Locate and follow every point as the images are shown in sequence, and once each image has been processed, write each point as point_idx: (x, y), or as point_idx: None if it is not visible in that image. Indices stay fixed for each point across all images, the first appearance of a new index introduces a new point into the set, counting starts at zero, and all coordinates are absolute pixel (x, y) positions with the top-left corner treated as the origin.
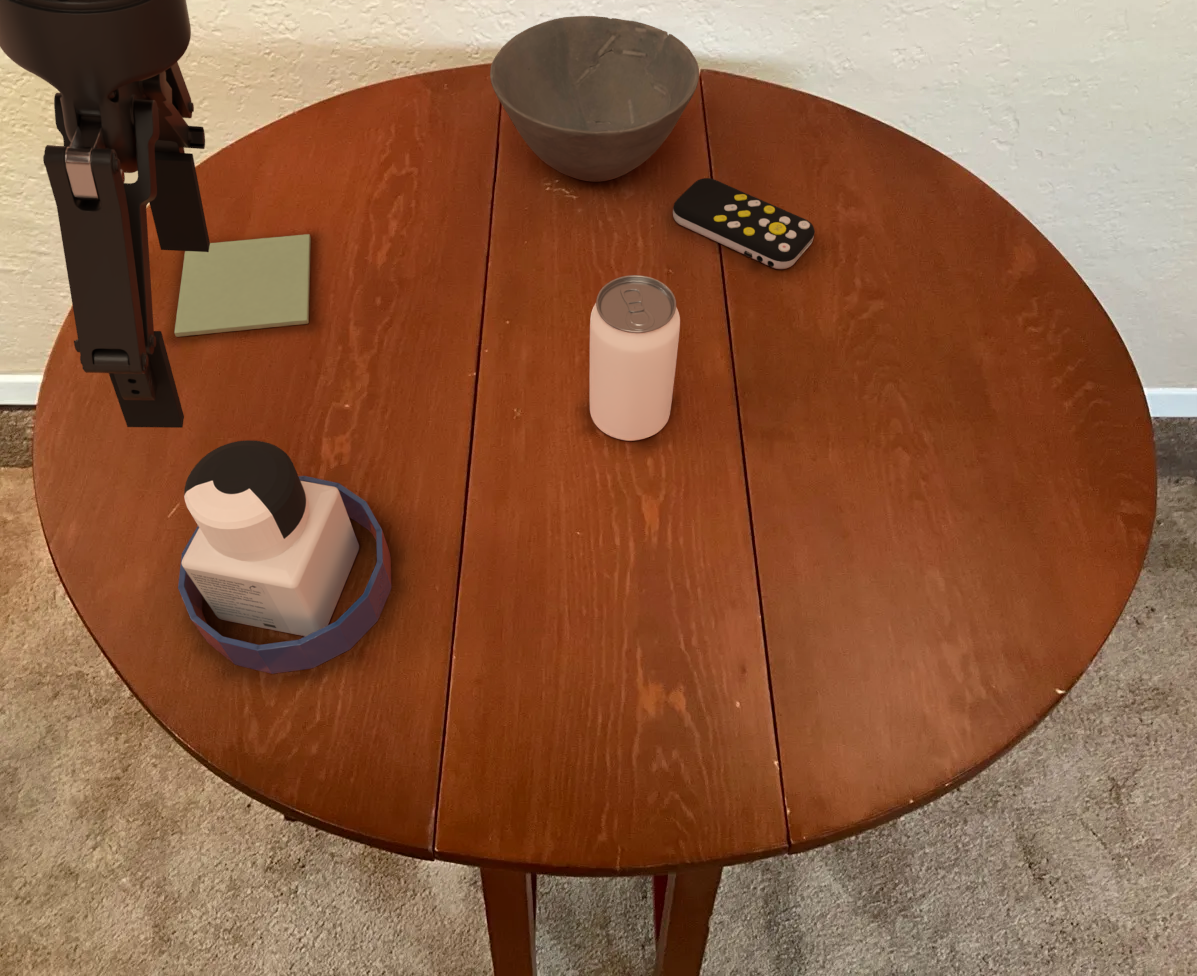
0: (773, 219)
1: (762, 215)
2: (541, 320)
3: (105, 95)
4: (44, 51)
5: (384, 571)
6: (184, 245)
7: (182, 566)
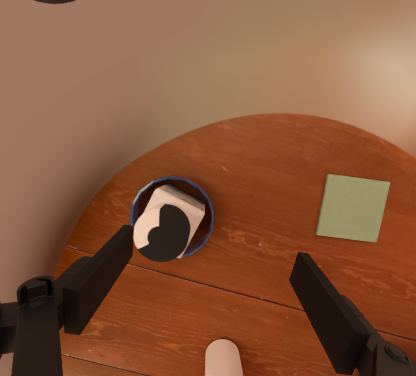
0: None
1: None
2: (283, 331)
3: None
4: None
5: None
6: (295, 270)
7: (178, 178)
